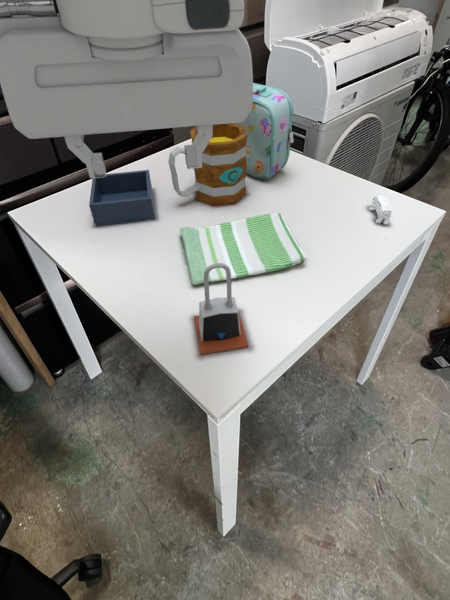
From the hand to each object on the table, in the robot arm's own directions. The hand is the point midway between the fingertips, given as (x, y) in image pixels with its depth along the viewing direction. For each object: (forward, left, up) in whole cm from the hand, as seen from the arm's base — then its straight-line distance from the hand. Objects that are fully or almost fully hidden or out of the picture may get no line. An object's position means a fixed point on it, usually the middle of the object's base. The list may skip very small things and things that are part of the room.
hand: (146, 170), depth 37 cm
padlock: (+7, +3, -32) cm, 33 cm away
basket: (-9, +47, -32) cm, 57 cm away
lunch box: (+25, +61, -32) cm, 74 cm away
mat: (+7, +4, -32) cm, 33 cm away
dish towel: (+15, +25, -32) cm, 43 cm away
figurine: (+49, +31, -32) cm, 66 cm away
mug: (+12, +48, -32) cm, 59 cm away
